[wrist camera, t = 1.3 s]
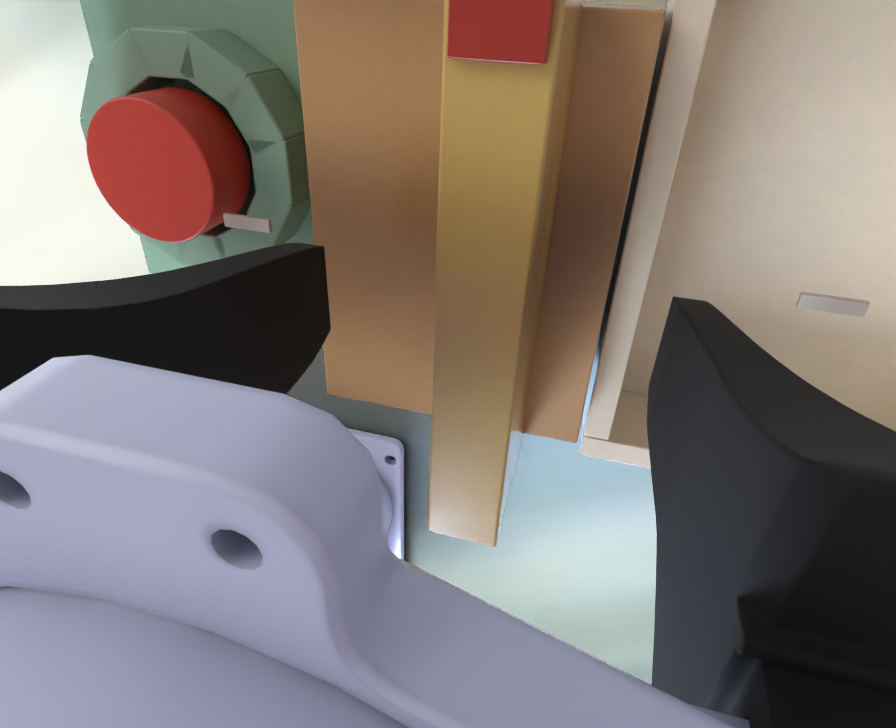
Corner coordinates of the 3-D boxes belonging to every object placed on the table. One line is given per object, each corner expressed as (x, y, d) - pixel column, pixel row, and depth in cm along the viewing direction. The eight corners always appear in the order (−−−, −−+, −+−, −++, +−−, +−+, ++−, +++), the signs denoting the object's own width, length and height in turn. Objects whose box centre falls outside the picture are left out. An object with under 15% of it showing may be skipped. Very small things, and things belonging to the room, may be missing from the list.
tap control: (355, 291, 22) (320, 328, 19) (169, 261, 23) (115, 293, 21) (339, -31, 16) (288, -35, 14) (98, -41, 18) (14, -47, 16)
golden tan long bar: (520, 447, 18) (493, 556, 14) (463, 436, 18) (423, 539, 15) (587, -24, 11) (568, -33, 8) (496, -28, 12) (439, -38, 8)
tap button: (260, 230, 19) (225, 252, 17) (150, 214, 19) (107, 234, 18) (241, 92, 16) (199, 102, 15) (119, 81, 17) (66, 90, 16)
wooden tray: (919, 456, 20) (967, 532, 17) (585, 396, 22) (579, 455, 19) (1230, -38, 12) (1409, -48, 9) (679, -55, 14) (690, -68, 12)
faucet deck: (730, 452, 21) (750, 551, 17) (319, 374, 24) (262, 443, 21) (957, -121, 13) (1099, -173, 9) (272, -128, 16) (156, -167, 12)
